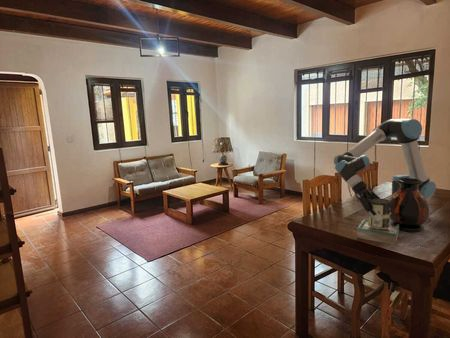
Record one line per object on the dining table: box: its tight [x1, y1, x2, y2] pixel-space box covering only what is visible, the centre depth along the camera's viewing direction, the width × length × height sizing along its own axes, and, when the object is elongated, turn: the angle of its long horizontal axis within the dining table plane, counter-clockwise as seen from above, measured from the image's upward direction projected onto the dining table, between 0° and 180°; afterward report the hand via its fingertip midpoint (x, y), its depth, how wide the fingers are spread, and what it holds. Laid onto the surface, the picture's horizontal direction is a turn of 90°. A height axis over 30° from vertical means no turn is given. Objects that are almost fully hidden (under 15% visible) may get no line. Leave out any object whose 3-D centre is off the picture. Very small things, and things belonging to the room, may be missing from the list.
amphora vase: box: [388, 178, 431, 233], centre depth 169 cm, size 22×22×28 cm
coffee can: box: [367, 197, 391, 229], centre depth 160 cm, size 10×10×14 cm
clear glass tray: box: [356, 219, 400, 245], centre depth 161 cm, size 16×18×6 cm
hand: (384, 217), depth 158 cm, fingers closed on coffee can, 10 cm apart
